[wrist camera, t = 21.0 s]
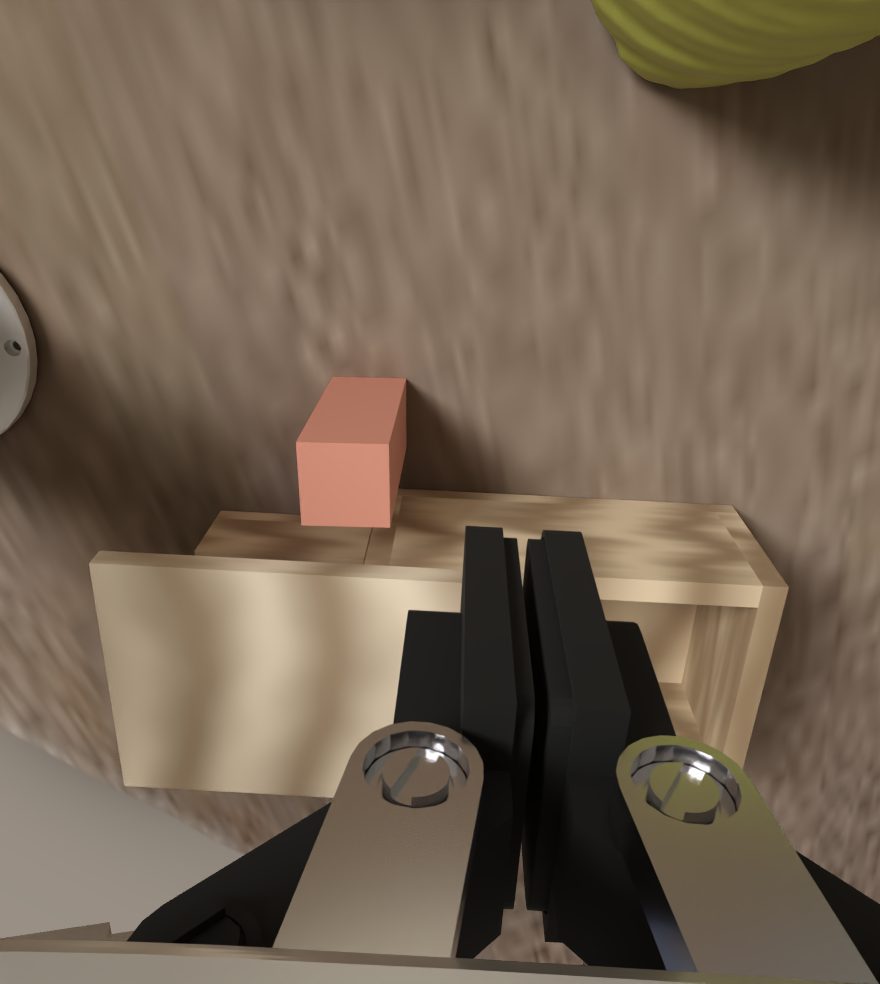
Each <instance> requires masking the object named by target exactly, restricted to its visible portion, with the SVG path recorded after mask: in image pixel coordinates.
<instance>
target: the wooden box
mask: <svg viewBox="0 0 880 984" xmlns="http://www.w3.org/2000/svg"><path fill="white" fill-rule="evenodd" d="M466 526H481V527H500V528H503V536H504V537H505V538H517V542H518V551H519V560H520V568H521V573H524V568H525V558H526V548H527V541H528V539H541V535H542V531H543V530H558V531H577V532H581V533H582V535H583V539H584V542H585V546H586V549H587V553H588V557H589V560H590V564H591V568H592V571H593V575H594V579H595V582H596V586H597V590H598V593H599V597H600V600H601V604H602V608H603V611H604V615H605V619H606V620H608V621H626V622H635V623H637V624H638V626H639V628H640V630H641V633H642V636H643V639H644V642H645V645H646V648H647V651H648V653H649V656H650V659H651V662H652V665H653V668H654V671H655V674H656V677H657V680H658V683H659V686H660V689H661V692H662V695H663V698H664V701H665V704H666V707H667V710H668V713H669V716H670V718H671V721H672V724H673V727H674V730H675V733H676V736H681V737H684V738H688V739H692V740H696V741H700V742H702V743H704V744H707V745H709V746H711V747H713V748H715V749H717V750H719V751H721V752H722V753H724V754H725V755H726V756H728V757H729V758H730V759H732V760H733V761H734V762H736V763H737V764H738V765H739V766H740V767H741V769H742V770H743V766H744V762H745V758H746V754H747V750H748V746H749V742H750V739H751V735H752V731H753V727H754V723H755V719H756V715H757V711H758V707H759V703H760V699H761V695H762V691H763V687H764V683H765V680H766V676H767V672H768V668H769V664H770V660H771V656H772V652H773V648H774V644H775V640H776V636H777V632H778V628H779V624H780V620H781V617H782V613H783V609H784V605H785V601H786V597H787V593H788V589H789V587H788V585H787V584H786V583H785V581H784V580H783V578H782V577H781V575H780V574H779V572H778V571H777V570H776V568H775V567H774V565H773V564H772V562H771V561H770V559H769V558H768V557H767V555H766V554H765V552H764V551H763V549H762V548H761V546H760V545H759V544H758V542H757V541H756V539H755V538H754V536H753V535H752V533H751V532H750V531H749V529H748V528H747V526H746V525H745V523H744V522H743V520H742V519H741V518H740V516H739V515H738V513H737V512H736V510H735V509H734V507H733V506H730V505H711V504H691V503H672V502H652V501H633V500H613V499H593V498H574V497H554V496H535V495H515V494H496V493H476V492H456V491H437V490H417V489H398V492H397V497H396V502H395V507H394V511H393V516H392V521H391V526H390V528H382V527H343V526H305V525H301V515H297V514H277V513H258V512H239V511H220V513H219V514H218V516H217V517H216V519H215V520H214V522H213V523H212V525H211V526H210V528H209V530H208V531H207V533H206V534H205V536H204V537H203V539H202V540H201V542H200V543H199V545H198V546H197V548H196V549H195V551H194V554H195V556H211V557H230V558H249V559H268V560H287V561H306V562H325V563H344V564H363V565H382V566H401V567H420V568H439V569H458V570H463V558H464V541H465V528H466Z"/></svg>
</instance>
